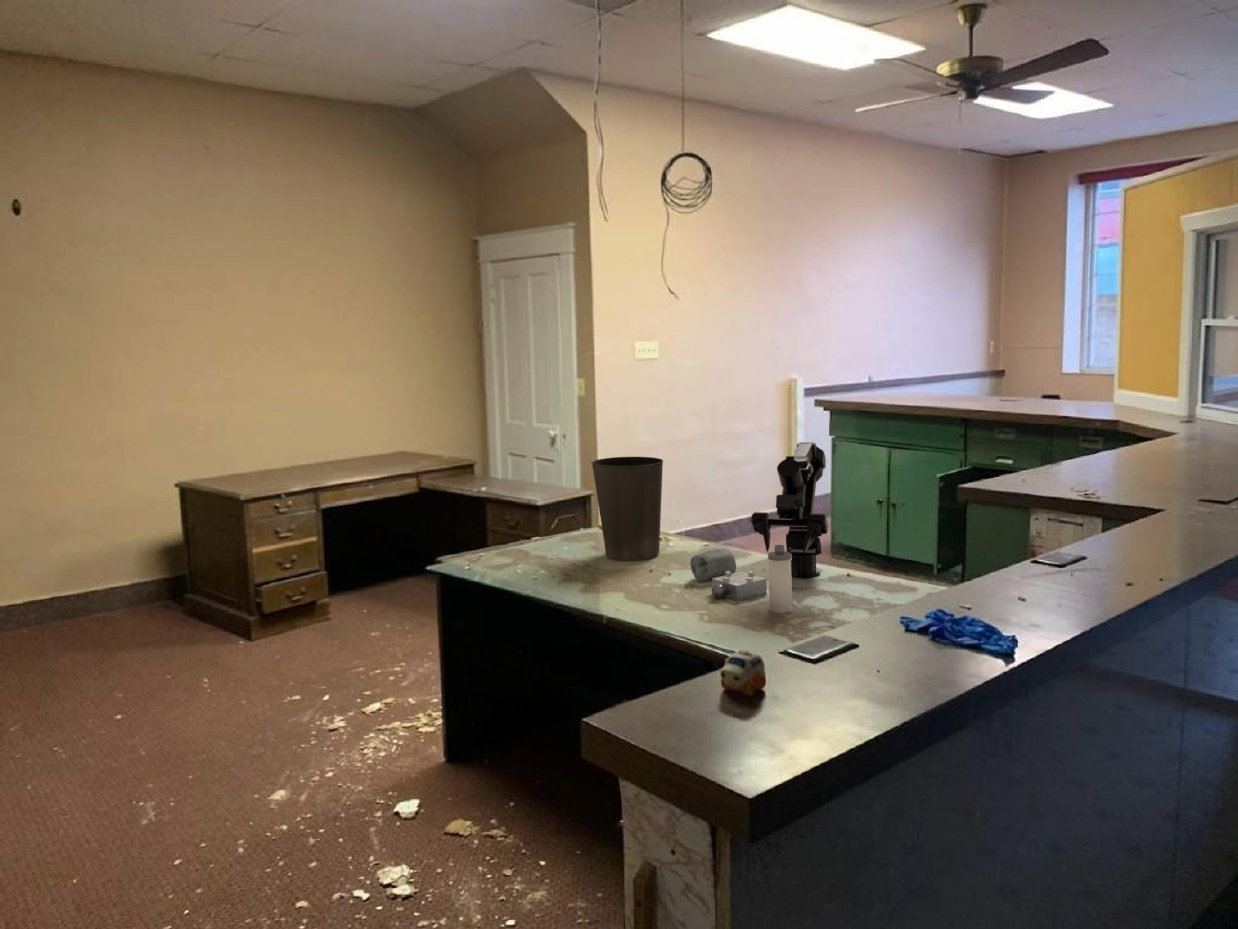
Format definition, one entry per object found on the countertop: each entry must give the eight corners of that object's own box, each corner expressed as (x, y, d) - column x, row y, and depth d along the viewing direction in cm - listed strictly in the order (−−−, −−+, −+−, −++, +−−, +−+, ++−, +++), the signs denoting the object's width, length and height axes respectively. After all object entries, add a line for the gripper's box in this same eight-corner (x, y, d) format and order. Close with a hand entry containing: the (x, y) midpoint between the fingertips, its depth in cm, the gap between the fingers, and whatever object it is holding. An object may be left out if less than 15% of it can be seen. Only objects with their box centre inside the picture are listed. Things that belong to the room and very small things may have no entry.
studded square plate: (741, 586, 248) (741, 568, 248) (766, 593, 240) (766, 575, 239) (703, 595, 241) (702, 576, 241) (727, 603, 233) (727, 584, 232)
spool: (702, 575, 249) (699, 540, 253) (685, 584, 257) (682, 550, 261) (745, 579, 255) (741, 545, 259) (726, 588, 262) (723, 555, 266)
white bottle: (781, 605, 229) (779, 542, 227) (797, 610, 224) (795, 545, 222) (765, 609, 226) (762, 545, 224) (780, 614, 221) (778, 549, 219)
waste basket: (582, 553, 298) (577, 460, 294) (636, 543, 308) (631, 453, 304) (627, 568, 275) (621, 468, 271) (683, 557, 285) (678, 460, 281)
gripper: (751, 481, 236) (742, 532, 228) (825, 481, 230) (818, 534, 221) (759, 506, 245) (750, 556, 236) (830, 507, 238) (824, 559, 229)
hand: (785, 551), depth 230 cm, fingers open, 9 cm apart
